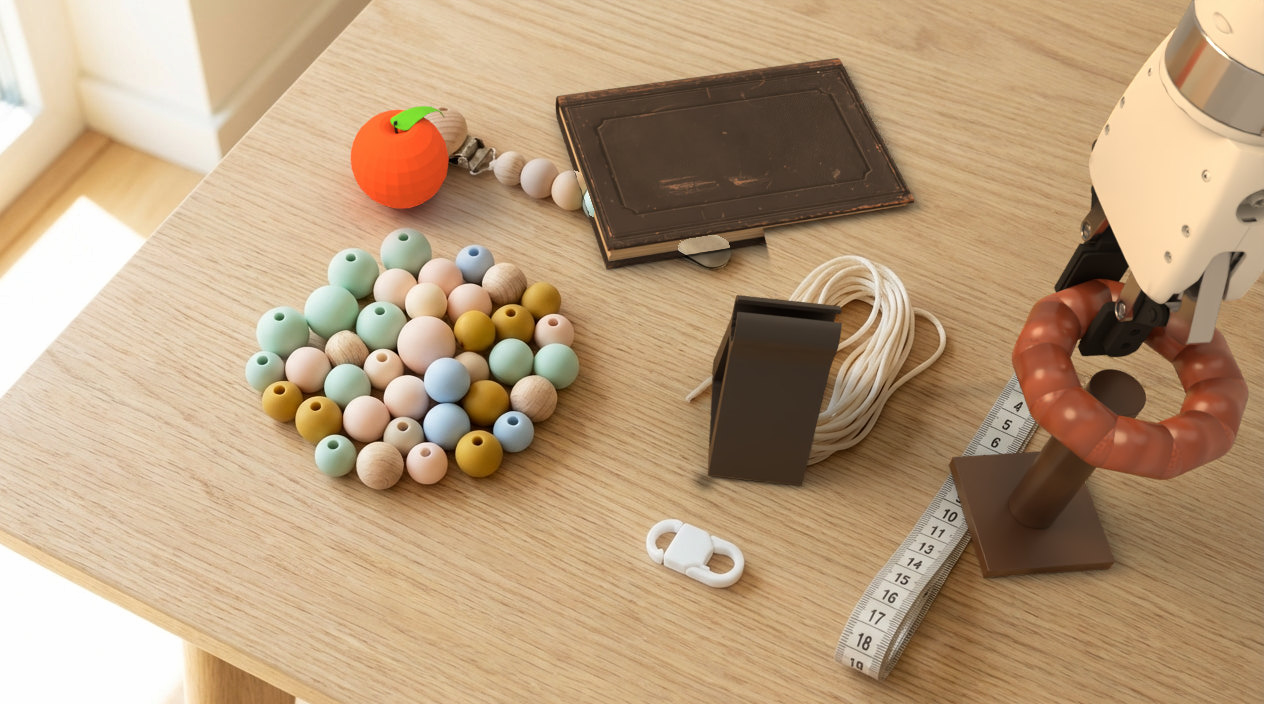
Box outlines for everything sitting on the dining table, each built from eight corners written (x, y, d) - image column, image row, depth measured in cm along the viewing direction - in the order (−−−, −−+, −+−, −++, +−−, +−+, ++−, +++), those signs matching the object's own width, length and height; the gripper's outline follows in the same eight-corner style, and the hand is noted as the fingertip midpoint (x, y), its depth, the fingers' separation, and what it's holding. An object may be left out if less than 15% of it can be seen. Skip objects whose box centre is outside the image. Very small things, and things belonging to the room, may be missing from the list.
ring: (1177, 293, 69) (1201, 262, 66) (1264, 481, 62) (1294, 454, 60) (980, 304, 68) (998, 273, 65) (1048, 497, 61) (1071, 470, 59)
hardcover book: (906, 221, 90) (914, 199, 88) (606, 269, 86) (608, 248, 84) (831, 75, 99) (837, 53, 97) (555, 113, 95) (555, 91, 93)
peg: (1067, 456, 79) (1162, 327, 68) (1109, 568, 75) (1218, 451, 63) (948, 464, 78) (1023, 335, 67) (983, 578, 74) (1070, 460, 62)
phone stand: (713, 362, 82) (740, 245, 72) (802, 372, 82) (841, 256, 72) (706, 477, 77) (734, 368, 67) (801, 488, 77) (843, 381, 67)
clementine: (414, 138, 93) (407, 65, 87) (480, 184, 90) (478, 112, 85) (336, 194, 89) (323, 122, 83) (402, 243, 87) (394, 173, 81)
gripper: (1439, 200, 48) (1215, 445, 63) (1266, -62, 57) (1107, 207, 72) (1258, 208, 47) (1076, 453, 62) (1112, -58, 56) (984, 212, 71)
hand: (1094, 319), depth 67 cm, fingers closed on ring, 3 cm apart
